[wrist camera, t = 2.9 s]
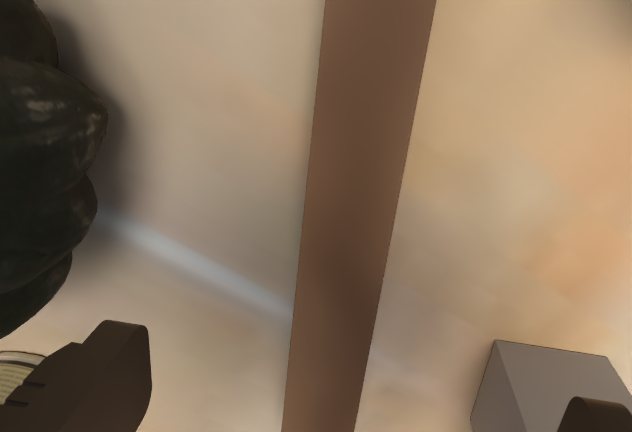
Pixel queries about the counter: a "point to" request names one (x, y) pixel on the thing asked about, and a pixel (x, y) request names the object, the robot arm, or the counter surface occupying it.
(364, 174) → the rail
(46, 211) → the squash
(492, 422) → the rest block
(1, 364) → the coffee can
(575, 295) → the counter surface
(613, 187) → the counter surface
